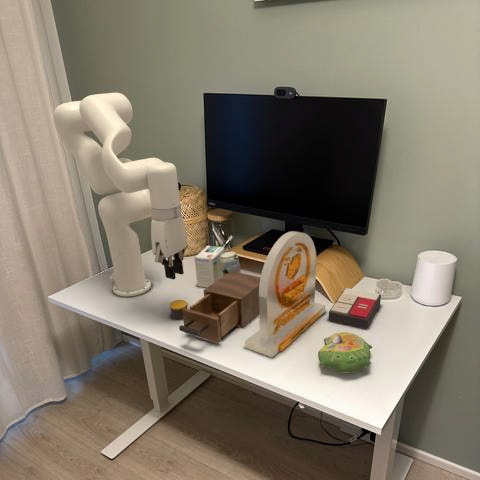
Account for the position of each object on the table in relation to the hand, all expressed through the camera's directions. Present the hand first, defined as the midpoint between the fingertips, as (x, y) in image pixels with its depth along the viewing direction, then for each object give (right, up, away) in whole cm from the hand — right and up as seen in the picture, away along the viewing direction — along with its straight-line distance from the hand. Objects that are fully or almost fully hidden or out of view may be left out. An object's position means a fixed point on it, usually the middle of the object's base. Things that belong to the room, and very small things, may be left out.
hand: (174, 275), depth 129 cm
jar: (+1, -11, +7) cm, 13 cm away
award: (+32, -15, -3) cm, 36 cm away
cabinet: (+18, -10, +7) cm, 22 cm away
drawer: (+10, -16, -3) cm, 19 cm away
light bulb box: (+9, 0, +26) cm, 28 cm away
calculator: (+52, -11, +3) cm, 53 cm away
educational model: (+44, -23, -17) cm, 53 cm away
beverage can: (+16, -2, +21) cm, 27 cm away
